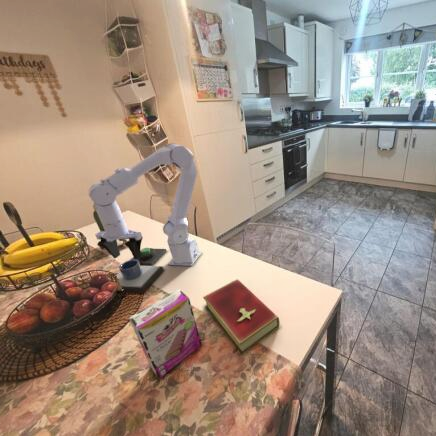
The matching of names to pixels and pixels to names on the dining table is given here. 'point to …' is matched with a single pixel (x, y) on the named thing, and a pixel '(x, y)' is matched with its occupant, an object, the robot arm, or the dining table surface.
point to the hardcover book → (241, 315)
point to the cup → (130, 269)
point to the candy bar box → (167, 332)
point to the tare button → (145, 251)
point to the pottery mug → (119, 240)
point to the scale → (140, 279)
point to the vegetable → (97, 219)
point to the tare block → (150, 257)
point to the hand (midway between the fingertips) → (127, 256)
